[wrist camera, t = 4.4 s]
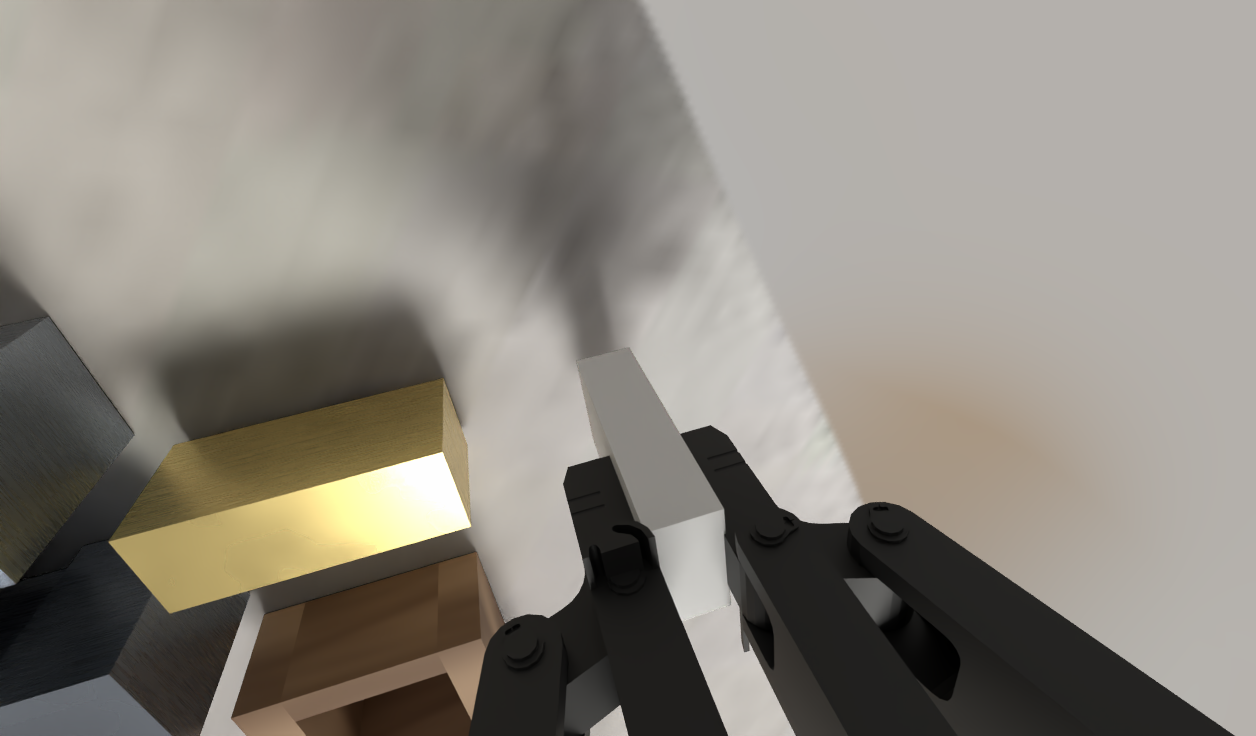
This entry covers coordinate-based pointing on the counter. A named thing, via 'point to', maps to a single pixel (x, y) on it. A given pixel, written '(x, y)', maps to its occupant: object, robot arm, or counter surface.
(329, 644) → the frame
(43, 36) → the counter surface
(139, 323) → the counter surface
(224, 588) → the bar
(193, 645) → the socket block
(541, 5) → the counter surface
